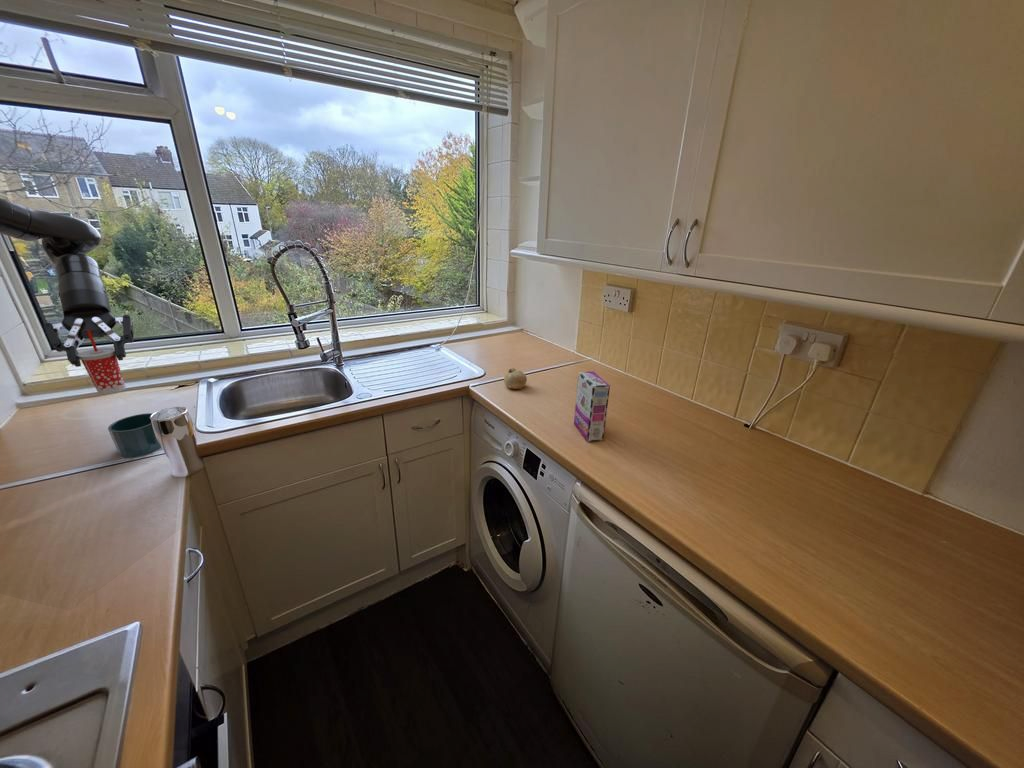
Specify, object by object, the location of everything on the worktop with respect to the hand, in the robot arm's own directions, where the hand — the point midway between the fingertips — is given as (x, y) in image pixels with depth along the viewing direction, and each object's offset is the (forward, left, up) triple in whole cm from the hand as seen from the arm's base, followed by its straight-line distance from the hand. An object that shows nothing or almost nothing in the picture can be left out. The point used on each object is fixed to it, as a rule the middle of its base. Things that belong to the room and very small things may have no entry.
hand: (98, 361), depth 87 cm
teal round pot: (+4, +5, -26) cm, 27 cm away
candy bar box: (+64, -93, -26) cm, 116 cm away
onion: (+84, -61, -26) cm, 107 cm away
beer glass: (+4, -13, -26) cm, 30 cm away
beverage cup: (+1, +2, -7) cm, 8 cm away
